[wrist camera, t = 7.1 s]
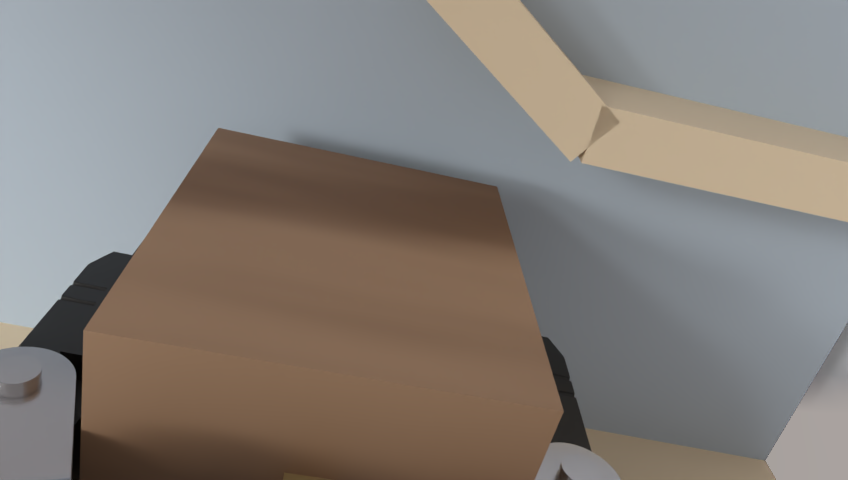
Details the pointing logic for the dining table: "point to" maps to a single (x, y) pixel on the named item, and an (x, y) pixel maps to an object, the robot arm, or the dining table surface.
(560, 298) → the board
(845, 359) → the dining table surface
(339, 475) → the walnut box
